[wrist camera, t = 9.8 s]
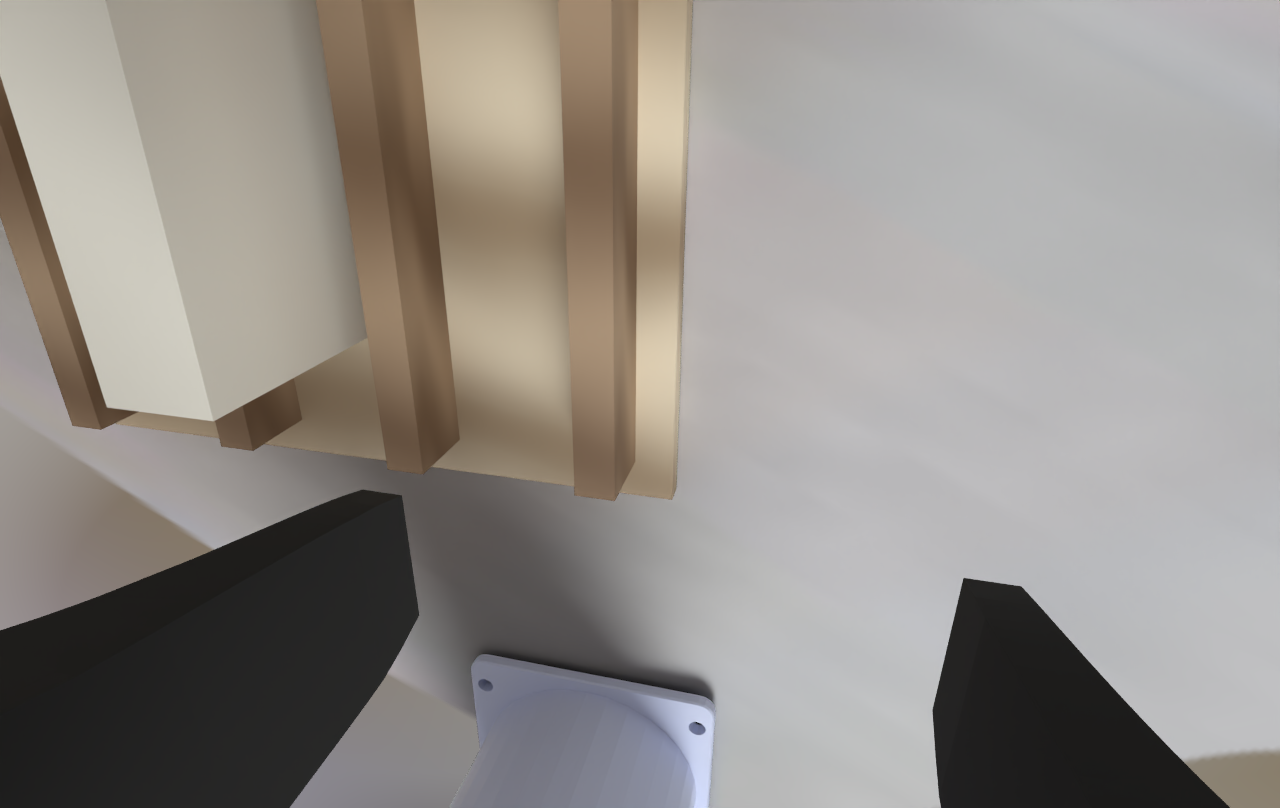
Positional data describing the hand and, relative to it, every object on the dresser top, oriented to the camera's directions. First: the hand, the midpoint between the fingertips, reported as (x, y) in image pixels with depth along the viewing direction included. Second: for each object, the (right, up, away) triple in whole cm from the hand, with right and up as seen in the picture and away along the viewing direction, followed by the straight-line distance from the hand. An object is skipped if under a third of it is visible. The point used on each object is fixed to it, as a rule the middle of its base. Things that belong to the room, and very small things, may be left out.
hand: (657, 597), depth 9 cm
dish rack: (-8, +8, +9) cm, 15 cm away
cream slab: (-8, +8, +8) cm, 14 cm away
